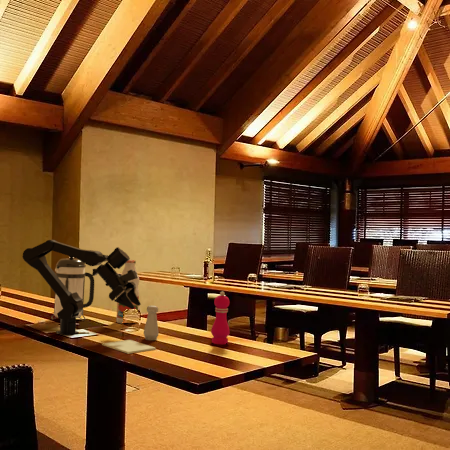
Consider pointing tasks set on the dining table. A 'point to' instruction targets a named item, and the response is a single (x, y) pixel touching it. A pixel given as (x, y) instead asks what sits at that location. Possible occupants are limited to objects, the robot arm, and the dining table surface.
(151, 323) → the salt shaker
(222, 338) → the pepper mill
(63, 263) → the coffee press
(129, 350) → the sage mat
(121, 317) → the fruit juice
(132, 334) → the dining table surface
